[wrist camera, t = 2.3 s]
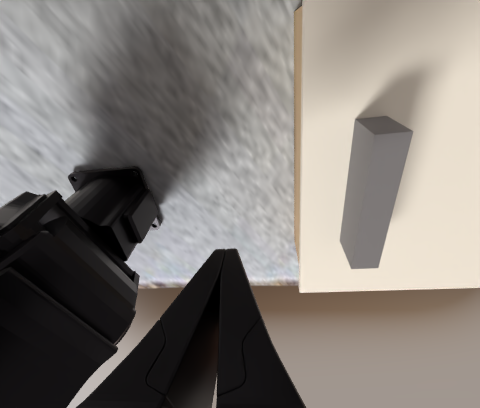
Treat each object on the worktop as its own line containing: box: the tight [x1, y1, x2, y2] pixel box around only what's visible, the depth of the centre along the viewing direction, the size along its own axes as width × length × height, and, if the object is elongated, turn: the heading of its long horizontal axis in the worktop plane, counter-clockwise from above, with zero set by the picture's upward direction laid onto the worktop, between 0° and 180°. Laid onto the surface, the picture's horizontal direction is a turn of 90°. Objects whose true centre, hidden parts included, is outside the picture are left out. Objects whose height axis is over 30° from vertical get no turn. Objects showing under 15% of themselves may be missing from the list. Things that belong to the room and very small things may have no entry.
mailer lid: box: [299, 0, 480, 293], centre depth 13 cm, size 15×19×3 cm
